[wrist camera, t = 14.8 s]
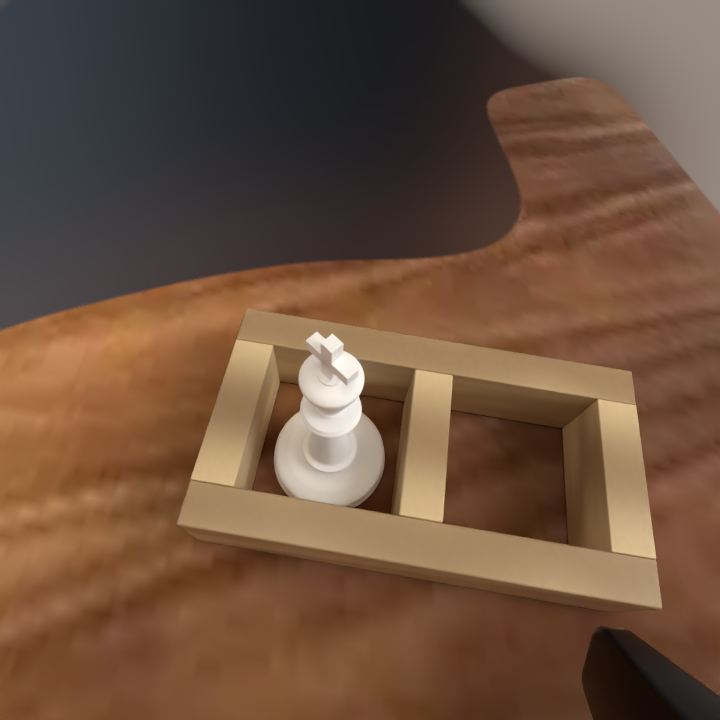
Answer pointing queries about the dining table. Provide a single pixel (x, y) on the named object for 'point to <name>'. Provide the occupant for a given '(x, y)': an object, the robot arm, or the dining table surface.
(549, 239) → the dining table surface
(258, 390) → the rack
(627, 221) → the dining table surface
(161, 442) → the dining table surface
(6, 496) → the dining table surface
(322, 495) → the chess piece
